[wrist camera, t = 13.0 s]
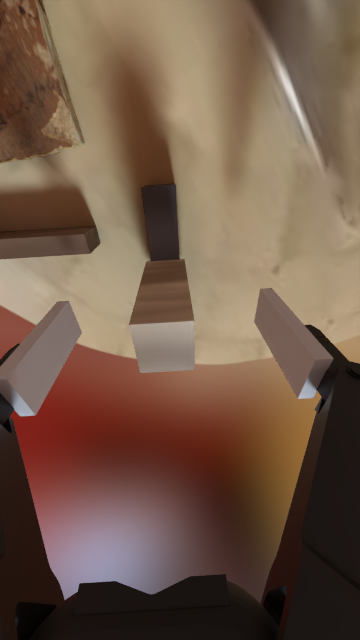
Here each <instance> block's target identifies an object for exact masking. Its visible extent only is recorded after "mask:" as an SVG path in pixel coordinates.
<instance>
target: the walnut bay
mask: <svg viewBox="0 0 360 640" xmlns="http://www.w3.org/2000/svg"><path fill="white" fill-rule="evenodd" d="M99 244H100V240H99V236H98V232H97V229H96V226H88V227H72V228H57V229H41V230H25V231H9V232H0V259H12V258H28V257H44V256H60V255H76V254H90V253H91V252H92V251H93V250H94V249H95V248H96V247H97V246H98V245H99Z"/></svg>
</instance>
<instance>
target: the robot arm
mask: <svg viewBox="0 0 360 640" xmlns="http://www.w3.org/2000/svg"><path fill="white" fill-rule="evenodd" d="M254 322H255V324H256V326H257V327H258V329H259V331H260V333H261V334H262V336H263V338H264V340H265V341H266V343H267V345H268V347H269V349H270V350H271V352H272V354H273V356H274V357H275V359H276V361H277V363H278V364H279V366H280V368H281V370H282V372H283V373H284V375H285V377H286V379H287V381H288V382H289V384H290V386H291V388H292V389H293V391H294V393H295V394H296V396H297V398H298V399H302V398H313V397H314V395H315V393H316V391H318V392H319V394H320V395H321V396H322V398H321V399H320V401H319V403H318V405H317V407H316V408H315V410H316V411H317V412H316V416H315V419H314V423H313V426H312V430H311V434H310V437H309V441H308V445H307V448H306V452H305V455H304V459H303V462H302V466H301V470H300V473H299V477H298V481H297V484H296V488H295V491H294V495H293V498H292V502H291V506H290V509H289V513H288V516H287V520H286V524H285V527H284V531H283V535H282V538H281V542H280V545H279V549H278V552H277V555H276V557H275V559H274V562H273V564H272V566H271V569H270V572H269V575H268V578H267V581H266V585H265V588H264V592H263V595H262V599H261V602H260V603H259V602H258V600H257V599H256V598H254V597H253V596H252V595H251V594H250V593H249V592H247V591H246V590H245V589H244V588H242V587H240V586H239V585H237V584H235V583H233V582H231V581H228V580H226V575H225V574H224V575H207V576H191V577H188V578H186V579H184V580H182V581H180V582H178V583H176V584H174V585H172V586H170V587H168V588H166V589H164V590H162V591H160V592H158V593H156V594H153V595H150V594H147V593H144V592H142V591H139V590H137V589H134V588H131V587H129V586H126V585H124V584H121V583H118V582H116V581H112V582H96V583H80V584H79V589H78V592H77V593H75V594H74V595H72V596H71V597H69V598H68V599H66V600H64V596H63V593H62V590H61V587H60V584H59V582H58V580H57V578H56V577H55V575H54V574H53V572H52V570H51V568H50V566H49V562H48V559H47V555H46V551H45V547H44V543H43V539H42V535H41V531H40V527H39V523H38V519H37V515H36V510H35V507H34V503H33V499H32V495H31V490H30V487H29V482H28V479H27V474H26V470H25V466H24V462H23V459H22V454H21V451H20V446H19V443H18V438H17V434H16V430H15V427H14V422H13V420H12V418H11V417H10V415H11V413H12V412H13V410H15V411H16V412H17V413H18V414H19V415H20V416H32V415H36V414H37V412H38V410H39V408H40V406H41V405H42V403H43V401H44V399H45V397H46V396H47V394H48V392H49V390H50V388H51V387H52V385H53V383H54V381H55V380H56V378H57V376H58V374H59V372H60V371H61V369H62V367H63V365H64V363H65V362H66V359H67V358H68V356H69V354H70V352H71V351H72V349H73V347H74V346H75V344H76V342H77V340H78V338H79V337H80V335H81V333H82V332H81V329H80V327H79V325H78V322H77V320H76V317H75V315H74V312H73V310H72V308H71V305H70V303H69V301H60V302H57V303H56V304H55V305H54V306H53V307H52V309H51V310H50V311H49V312H48V313H47V314H46V315H45V317H44V318H43V319H42V320H41V321H40V322H39V323H38V324H37V326H36V327H35V328H34V329H33V330H32V331H31V333H30V334H29V335H28V336H27V337H26V338H25V339H24V341H23V342H22V343H21V344H17V345H16V346H14V347H13V348H11V349H10V350H9V351H8V352H7V353H6V354H5V355H4V356H3V358H2V359H0V640H360V364H359V363H354V362H349V361H348V360H347V358H346V357H345V356H344V355H343V354H342V353H341V352H340V351H339V350H338V349H337V348H336V347H335V346H334V345H333V344H332V343H330V341H329V339H328V338H326V337H325V335H324V334H323V333H322V332H321V331H320V330H319V329H317V328H315V327H314V326H312V325H304V324H303V323H302V322H301V321H300V320H299V319H298V318H297V316H296V315H295V314H294V313H293V312H292V311H291V310H290V308H289V307H288V306H287V305H286V304H285V303H284V302H283V300H282V299H281V298H280V297H279V296H278V295H277V294H276V293H275V291H274V290H273V289H272V288H266V289H260V294H259V299H258V305H257V310H256V315H255V321H254Z"/></svg>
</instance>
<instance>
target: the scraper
mask: <svg viewBox="0 0 360 640" xmlns="http://www.w3.org/2000/svg"><path fill="white" fill-rule="evenodd" d="M141 189H142V197H143V204H144V212H145V219H146V227H147V234H148V242H149V249H150V257H151V261H147V262H146V265H145V268H144V272H143V276H142V279H141V283H140V287H139V290H138V294H137V297H136V301H135V305H134V308H133V312H132V316H131V319H130V323H129V327H130V331H131V336H132V340H133V344H134V348H135V352H136V357H137V361H138V365H139V369H140V373H147V372H160V371H161V372H162V371H177V370H193V369H195V343H194V317H193V310H192V304H191V298H190V292H189V285H188V279H187V273H186V267H185V260H184V259H180V258H179V239H178V221H177V202H176V185H175V184H163V185H147V186H144V187H142V188H141Z"/></svg>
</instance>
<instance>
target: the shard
mask: <svg viewBox="0 0 360 640" xmlns="http://www.w3.org/2000/svg"><path fill="white" fill-rule="evenodd" d="M84 143H85V141H84V138H83V135H82V133H81V130H80V128H79V124H78V121H77V118H76V115H75V112H74V109H73V107H72V104H71V100H70V98H69V96H68V92H67V90H66V87H65V84H64V79H63V75H62V71H61V66H60V62H59V58H58V54H57V52H56V48H55V44H54V41H53V37H52V32H51V27H50V25H49V23H48V21H47V18H46V15H45V13H44V12H43V10H42V8H41V5H40V3H39V1H38V0H0V163H5V162H11V161H13V160H26V159H31V158H33V157H42V156H47V155H52V154H56V153H59V152H60V151H61V150H63V149H67V148H76V147H77V146H82V145H84Z"/></svg>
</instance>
